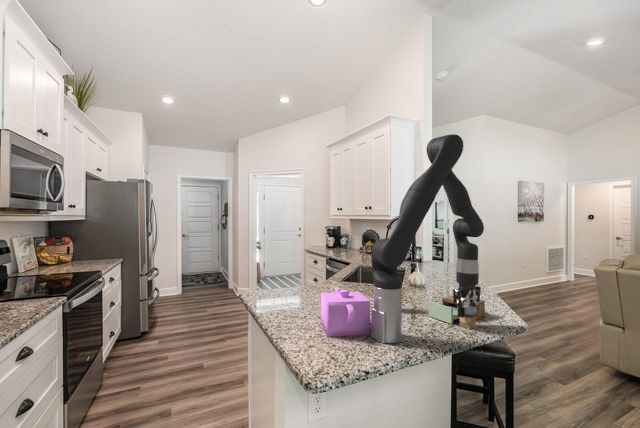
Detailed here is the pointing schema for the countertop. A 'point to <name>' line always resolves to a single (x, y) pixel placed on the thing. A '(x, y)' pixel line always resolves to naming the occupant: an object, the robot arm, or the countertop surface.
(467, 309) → the grey round dome
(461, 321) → the oak block
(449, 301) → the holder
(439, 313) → the tray
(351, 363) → the countertop surface
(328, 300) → the teapot
